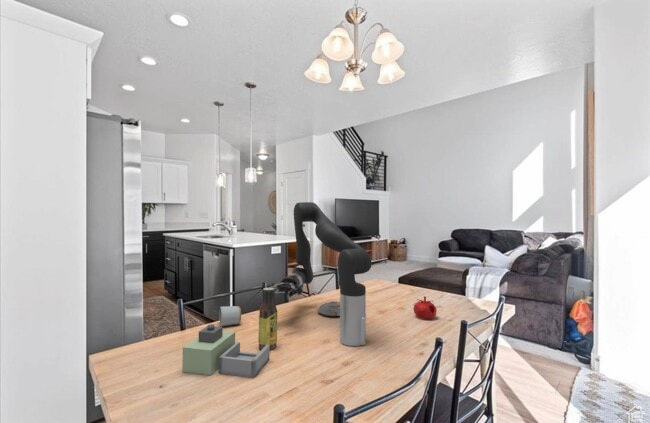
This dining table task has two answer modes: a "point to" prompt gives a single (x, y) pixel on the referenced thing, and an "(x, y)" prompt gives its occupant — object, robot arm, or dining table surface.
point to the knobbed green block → (221, 355)
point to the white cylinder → (229, 315)
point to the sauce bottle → (268, 320)
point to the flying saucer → (330, 309)
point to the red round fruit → (425, 309)
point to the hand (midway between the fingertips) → (279, 293)
